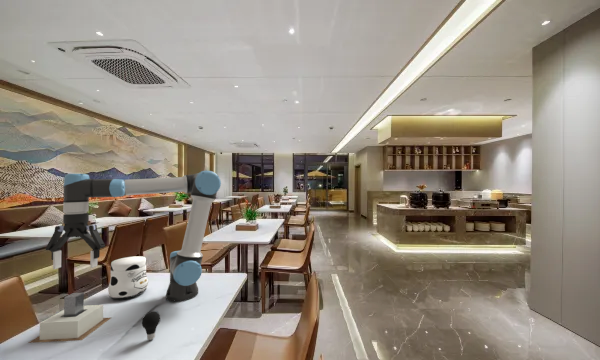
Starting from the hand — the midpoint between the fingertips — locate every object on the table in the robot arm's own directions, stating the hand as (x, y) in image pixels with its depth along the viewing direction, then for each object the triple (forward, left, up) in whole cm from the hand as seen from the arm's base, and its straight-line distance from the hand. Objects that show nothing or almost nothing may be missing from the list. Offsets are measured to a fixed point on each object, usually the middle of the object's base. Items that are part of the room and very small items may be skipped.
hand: (75, 267), depth 99 cm
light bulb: (-33, +8, -25) cm, 42 cm away
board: (0, 0, -25) cm, 25 cm away
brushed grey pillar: (0, 0, -22) cm, 22 cm away
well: (0, 0, -23) cm, 23 cm away
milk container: (0, -35, -25) cm, 43 cm away
